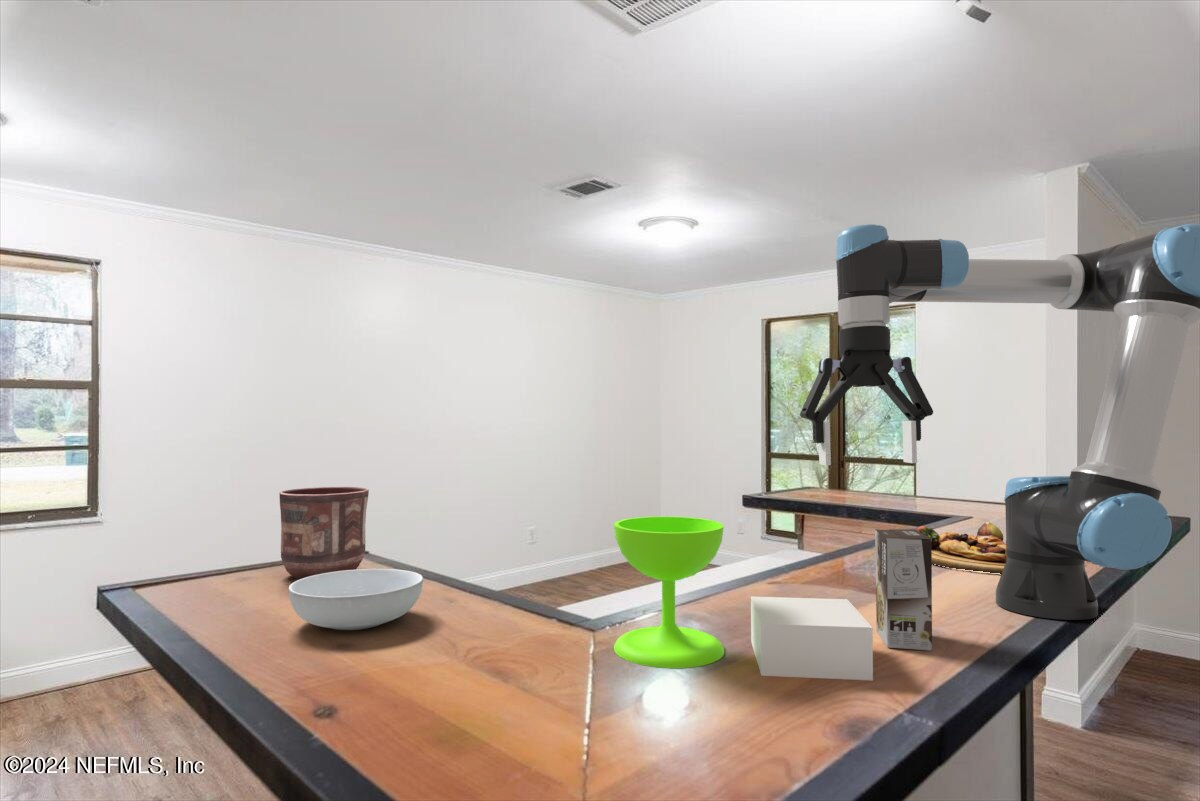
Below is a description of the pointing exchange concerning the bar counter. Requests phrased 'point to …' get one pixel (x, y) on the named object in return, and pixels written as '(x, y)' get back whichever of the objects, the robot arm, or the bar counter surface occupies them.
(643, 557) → the wineglass
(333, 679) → the bar counter surface
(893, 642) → the coffee box
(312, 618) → the serving bowl
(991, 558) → the wooden plate with food
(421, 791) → the bar counter surface
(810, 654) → the plinth block
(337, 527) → the pottery
